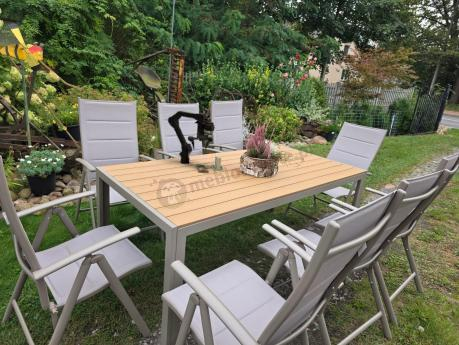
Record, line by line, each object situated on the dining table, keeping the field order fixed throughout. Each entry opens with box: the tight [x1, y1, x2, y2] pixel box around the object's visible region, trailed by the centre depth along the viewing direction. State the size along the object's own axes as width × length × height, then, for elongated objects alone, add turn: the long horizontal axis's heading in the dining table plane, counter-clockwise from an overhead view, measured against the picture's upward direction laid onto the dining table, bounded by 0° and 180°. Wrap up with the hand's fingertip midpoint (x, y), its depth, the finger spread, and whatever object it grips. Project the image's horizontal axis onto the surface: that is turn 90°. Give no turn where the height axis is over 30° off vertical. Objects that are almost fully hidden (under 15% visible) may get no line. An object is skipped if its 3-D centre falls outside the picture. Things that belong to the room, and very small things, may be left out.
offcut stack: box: [197, 168, 210, 174], centre depth 220 cm, size 8×3×2 cm, turn 93°
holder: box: [210, 163, 225, 171], centre depth 232 cm, size 8×9×3 cm
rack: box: [195, 164, 207, 171], centre depth 228 cm, size 6×11×2 cm, turn 18°
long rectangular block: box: [214, 155, 222, 169], centre depth 231 cm, size 3×6×9 cm, turn 18°
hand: (199, 149), depth 232 cm, fingers open, 9 cm apart
